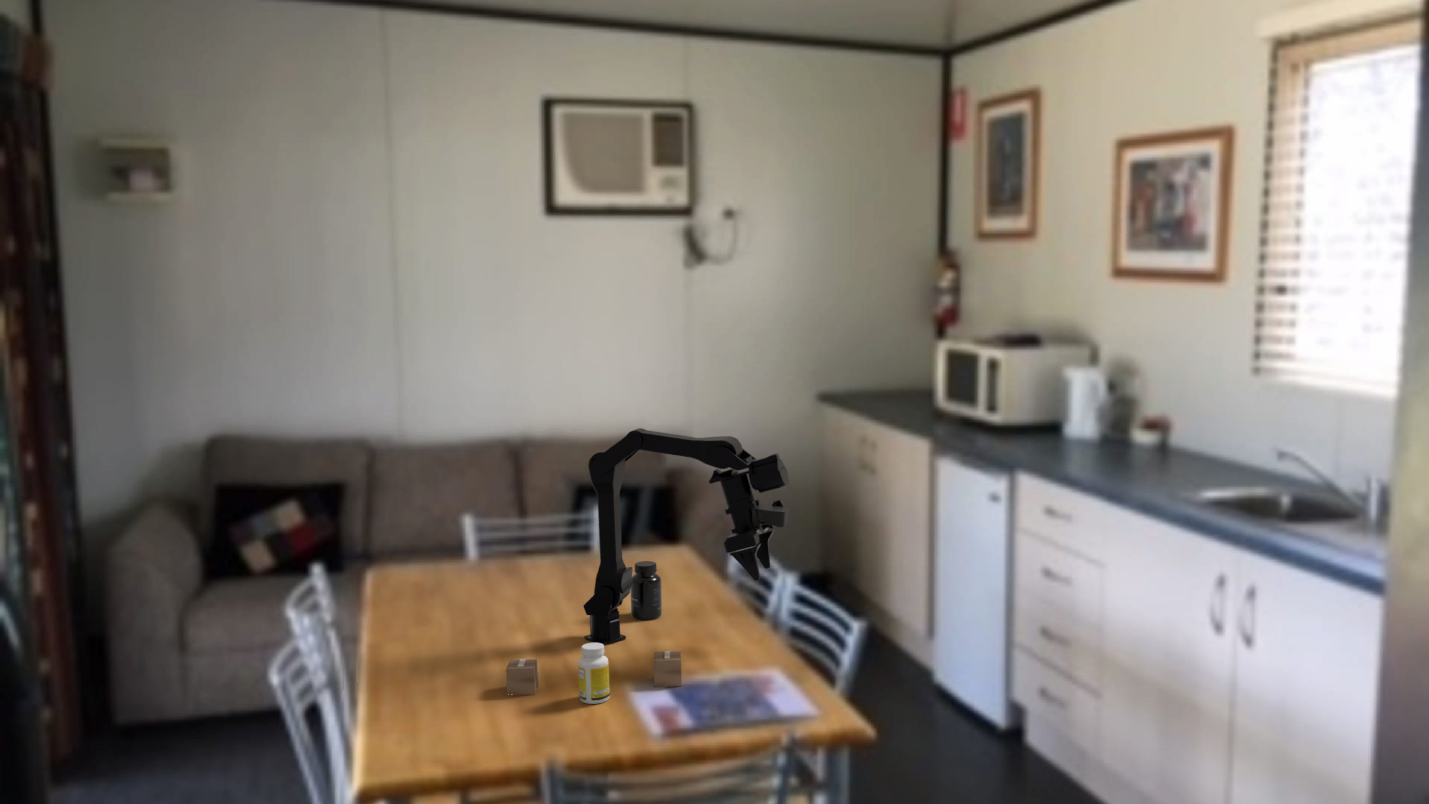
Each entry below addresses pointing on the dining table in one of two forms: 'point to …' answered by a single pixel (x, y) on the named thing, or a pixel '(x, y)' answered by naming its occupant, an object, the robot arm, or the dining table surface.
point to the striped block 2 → (667, 669)
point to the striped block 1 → (522, 677)
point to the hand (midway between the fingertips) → (762, 573)
